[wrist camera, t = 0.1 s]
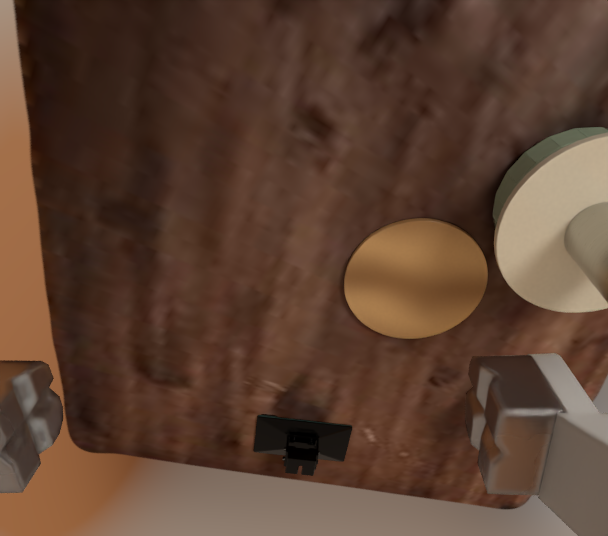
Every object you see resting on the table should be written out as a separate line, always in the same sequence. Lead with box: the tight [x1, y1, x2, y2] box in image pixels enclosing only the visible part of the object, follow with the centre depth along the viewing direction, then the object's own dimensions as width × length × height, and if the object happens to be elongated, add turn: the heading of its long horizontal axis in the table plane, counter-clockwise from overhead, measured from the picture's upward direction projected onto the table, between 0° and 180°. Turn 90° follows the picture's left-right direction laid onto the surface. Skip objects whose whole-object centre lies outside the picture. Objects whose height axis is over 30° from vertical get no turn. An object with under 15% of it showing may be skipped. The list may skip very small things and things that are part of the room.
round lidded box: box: [493, 127, 608, 229], centre depth 47 cm, size 14×14×6 cm
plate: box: [494, 132, 608, 313], centre depth 44 cm, size 17×17×1 cm
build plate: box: [254, 414, 352, 476], centre depth 67 cm, size 12×7×5 cm, turn 83°
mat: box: [344, 218, 488, 339], centre depth 55 cm, size 15×15×1 cm
